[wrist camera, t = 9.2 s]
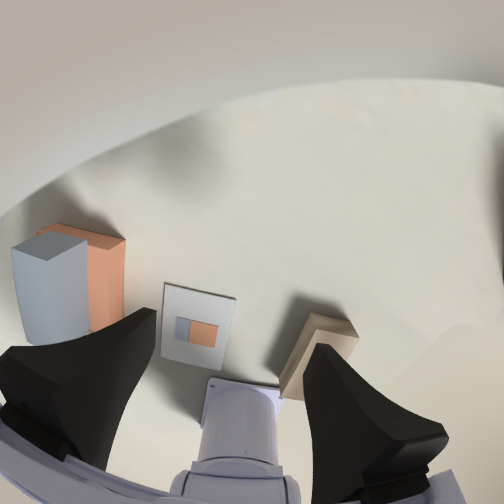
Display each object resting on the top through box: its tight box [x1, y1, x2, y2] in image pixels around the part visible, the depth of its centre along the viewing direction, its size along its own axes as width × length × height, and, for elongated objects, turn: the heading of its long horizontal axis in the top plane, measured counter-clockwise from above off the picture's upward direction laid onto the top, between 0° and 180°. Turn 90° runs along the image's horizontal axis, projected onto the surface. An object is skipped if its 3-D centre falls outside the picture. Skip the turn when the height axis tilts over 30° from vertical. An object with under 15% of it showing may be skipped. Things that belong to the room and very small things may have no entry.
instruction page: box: [161, 284, 236, 371], centre depth 23 cm, size 8×6×1 cm
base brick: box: [37, 224, 126, 332], centre depth 20 cm, size 8×8×3 cm
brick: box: [279, 312, 360, 401], centre depth 23 cm, size 4×8×3 cm, turn 163°
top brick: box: [11, 231, 91, 346], centre depth 16 cm, size 8×4×5 cm, turn 168°
